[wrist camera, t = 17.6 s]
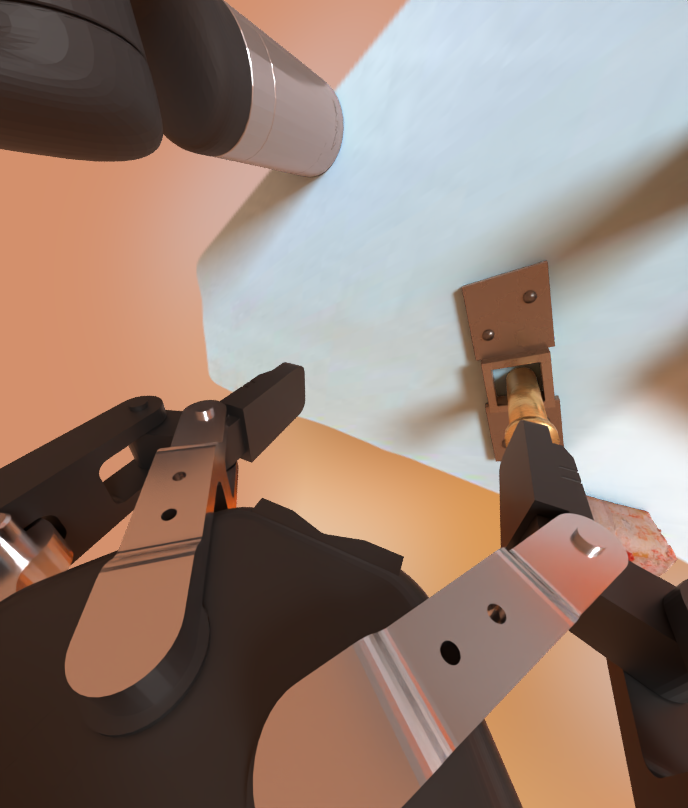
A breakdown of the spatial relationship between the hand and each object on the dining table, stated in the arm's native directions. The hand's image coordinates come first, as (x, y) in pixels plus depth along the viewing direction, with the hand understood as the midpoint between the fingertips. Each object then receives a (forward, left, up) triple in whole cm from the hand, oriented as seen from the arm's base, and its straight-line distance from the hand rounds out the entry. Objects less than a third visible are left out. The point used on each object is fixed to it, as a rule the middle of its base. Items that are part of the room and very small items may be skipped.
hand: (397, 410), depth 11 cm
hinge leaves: (+10, -12, -34) cm, 37 cm away
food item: (+27, -32, -34) cm, 54 cm away
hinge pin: (+11, -12, -34) cm, 38 cm away
